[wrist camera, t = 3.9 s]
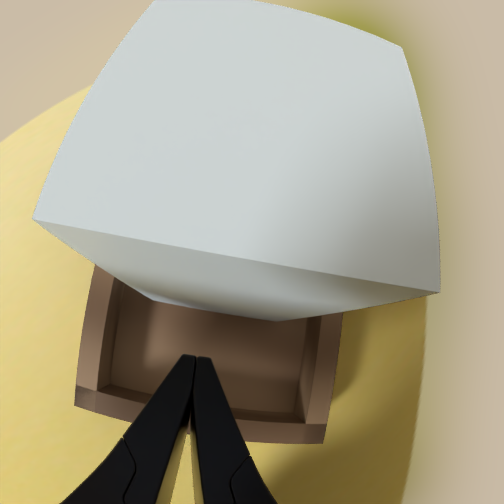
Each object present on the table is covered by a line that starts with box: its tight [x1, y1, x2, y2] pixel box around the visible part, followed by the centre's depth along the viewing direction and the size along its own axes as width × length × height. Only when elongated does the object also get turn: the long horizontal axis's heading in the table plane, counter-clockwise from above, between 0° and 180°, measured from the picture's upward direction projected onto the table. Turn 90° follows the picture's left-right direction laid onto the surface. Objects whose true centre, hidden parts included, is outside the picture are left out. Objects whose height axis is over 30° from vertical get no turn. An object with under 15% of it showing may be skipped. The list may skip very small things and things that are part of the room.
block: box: [32, 0, 440, 322], centre depth 10 cm, size 6×6×11 cm
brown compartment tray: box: [74, 264, 343, 444], centre depth 15 cm, size 20×17×3 cm
